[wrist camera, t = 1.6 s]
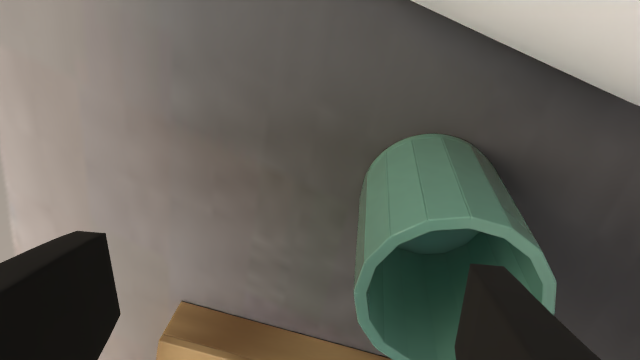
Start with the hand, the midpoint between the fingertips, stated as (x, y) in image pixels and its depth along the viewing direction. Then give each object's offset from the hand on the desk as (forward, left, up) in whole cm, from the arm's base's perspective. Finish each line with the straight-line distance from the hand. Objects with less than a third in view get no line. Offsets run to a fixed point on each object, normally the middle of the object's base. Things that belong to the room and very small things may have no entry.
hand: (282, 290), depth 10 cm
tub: (-4, +1, -10) cm, 11 cm away
